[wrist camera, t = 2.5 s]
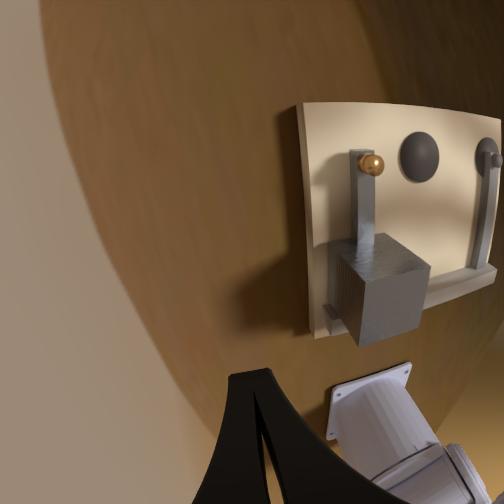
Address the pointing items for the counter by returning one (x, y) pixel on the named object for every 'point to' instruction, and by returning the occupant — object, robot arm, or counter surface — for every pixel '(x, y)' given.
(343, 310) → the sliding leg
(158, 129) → the counter surface
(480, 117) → the bolt board
